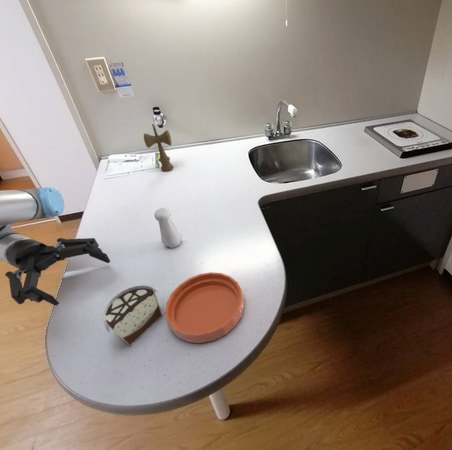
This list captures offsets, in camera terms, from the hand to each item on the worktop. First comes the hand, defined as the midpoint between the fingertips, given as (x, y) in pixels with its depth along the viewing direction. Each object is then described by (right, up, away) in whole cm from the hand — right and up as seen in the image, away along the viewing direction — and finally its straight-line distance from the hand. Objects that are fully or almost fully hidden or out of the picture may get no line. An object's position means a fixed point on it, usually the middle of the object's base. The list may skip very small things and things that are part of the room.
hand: (82, 278), depth 71 cm
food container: (+11, -12, +4) cm, 17 cm away
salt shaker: (+10, +6, +26) cm, 29 cm away
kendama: (-7, +37, +62) cm, 72 cm away
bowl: (+27, -9, +7) cm, 29 cm away
